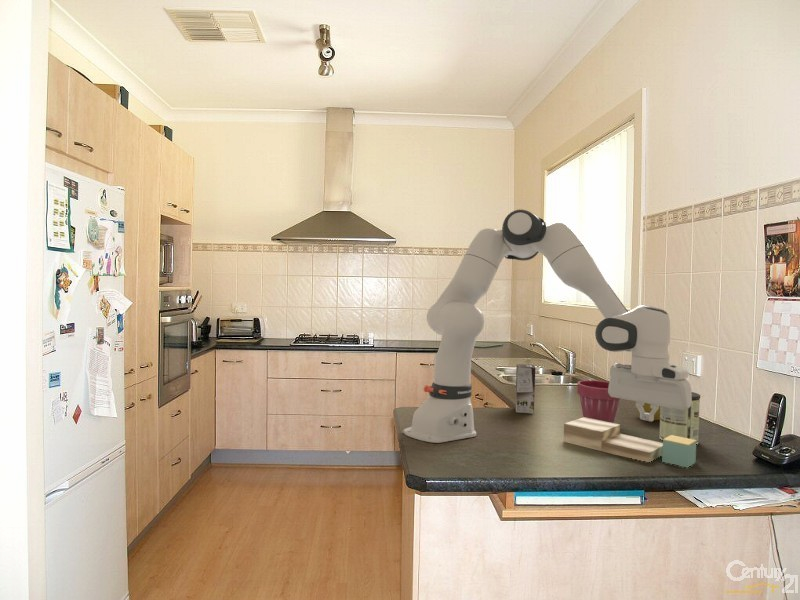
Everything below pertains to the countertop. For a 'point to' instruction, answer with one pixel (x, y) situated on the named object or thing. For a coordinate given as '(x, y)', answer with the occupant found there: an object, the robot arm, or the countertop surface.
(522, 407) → the coffee box
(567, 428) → the stair
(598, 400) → the plant pot
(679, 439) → the teal cube
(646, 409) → the flower pot
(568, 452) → the countertop surface
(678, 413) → the coffee can
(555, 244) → the robot arm
